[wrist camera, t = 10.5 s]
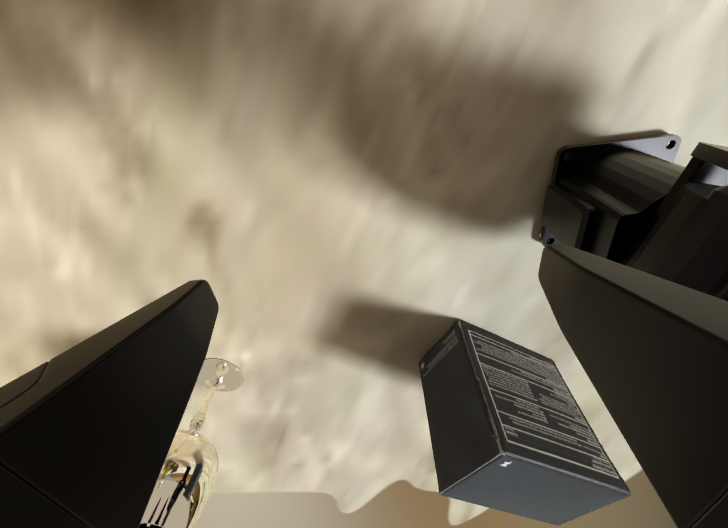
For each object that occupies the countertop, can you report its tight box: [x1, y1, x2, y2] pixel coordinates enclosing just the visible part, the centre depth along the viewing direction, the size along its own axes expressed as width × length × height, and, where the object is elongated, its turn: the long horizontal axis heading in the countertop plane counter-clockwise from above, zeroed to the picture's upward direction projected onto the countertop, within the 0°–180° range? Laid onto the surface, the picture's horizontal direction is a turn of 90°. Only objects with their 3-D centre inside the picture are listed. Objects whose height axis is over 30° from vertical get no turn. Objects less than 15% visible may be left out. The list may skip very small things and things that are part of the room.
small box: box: [419, 320, 631, 526], centre depth 25 cm, size 11×6×10 cm, turn 62°
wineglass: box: [139, 359, 244, 528], centre depth 25 cm, size 6×6×12 cm
